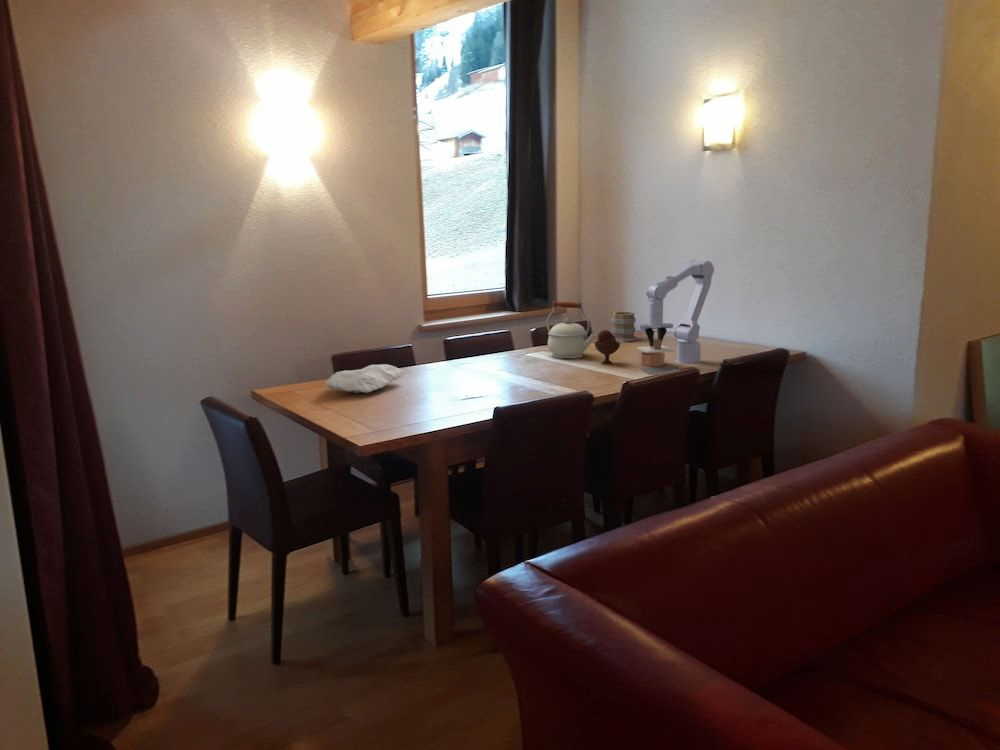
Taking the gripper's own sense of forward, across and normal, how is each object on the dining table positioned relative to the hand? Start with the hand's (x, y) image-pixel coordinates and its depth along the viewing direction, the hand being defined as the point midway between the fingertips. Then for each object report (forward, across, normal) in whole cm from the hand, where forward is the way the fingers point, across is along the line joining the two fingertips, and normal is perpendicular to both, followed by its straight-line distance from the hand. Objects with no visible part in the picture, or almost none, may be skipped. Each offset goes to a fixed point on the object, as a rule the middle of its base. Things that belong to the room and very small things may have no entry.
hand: (655, 345), depth 318 cm
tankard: (+9, +7, +69) cm, 70 cm away
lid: (+2, 0, 0) cm, 2 cm away
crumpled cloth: (+9, -122, -13) cm, 123 cm away
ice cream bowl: (+9, -18, +10) cm, 22 cm away
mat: (+9, 0, -10) cm, 14 cm away
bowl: (+9, 0, +4) cm, 10 cm away
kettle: (+9, -29, +31) cm, 43 cm away
